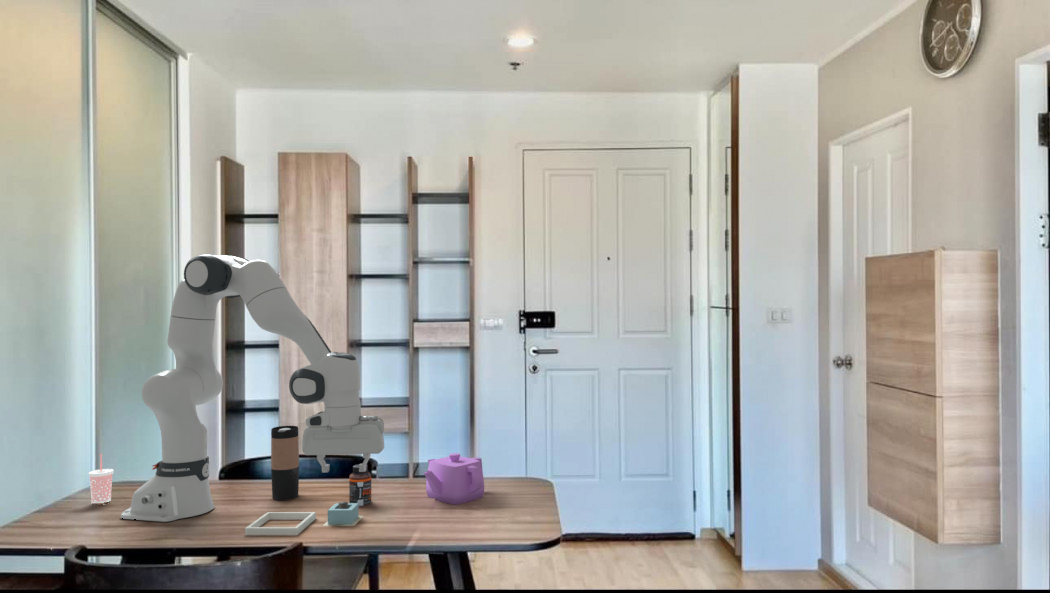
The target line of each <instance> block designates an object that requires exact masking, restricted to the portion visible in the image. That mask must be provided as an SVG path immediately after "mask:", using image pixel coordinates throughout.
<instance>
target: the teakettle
mask: <svg viewBox="0 0 1050 593" xmlns="http://www.w3.org/2000/svg"><path fill="white" fill-rule="evenodd" d="M427 462H428V468H427V471H425V472H423V474H424V476H425V479H426V482H425V483H426V484H425V489H426V490H425V491H426V495H427V497H428V498H429V499H434V500H435V501H437V502H441V503H444V502H445V504H449V505H455V506H456V505H457V506H458V505H462V504H465V503H468V502H472V501H475V500H478V499H481V498H483V497H484V493H485V479H484V474H483V473H484V472H483V461H482V458H481V457H477V456H476V457H468V456H467V457H466V456H462V455H461V453H458V452H452V453H450V454H449V456H446V457H440V458H432V459H427Z"/></svg>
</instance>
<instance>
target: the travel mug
mask: <svg viewBox="0 0 1050 593" xmlns="http://www.w3.org/2000/svg"><path fill="white" fill-rule="evenodd" d="M270 430H271V433H270V436H271V437H270V442H271V443H270V448H271V450H270V460H271V461H270V465H271V466H270V467H271V470H270V472H271V474H270V475H271V494H272V495H271V497H272V499H273V500H274V501H286V500H287V501H288V500H292V499H295V498H298V496H299V489H300V488H299V480H300V478H299V477H300V448H299V446H300V445H299V442H300V441H299V427H298V425H281V426H280V425H279V426H274V427H272V428H271V429H270Z"/></svg>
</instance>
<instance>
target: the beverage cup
mask: <svg viewBox="0 0 1050 593" xmlns="http://www.w3.org/2000/svg"><path fill="white" fill-rule="evenodd" d="M99 460H100V462H99V468H100V469H95V470H91V471H89V472H88V477H89V485H90V496H91V497H90V499H91V504H92V503H104V502H109V501H111V500H112V491H113V490H112V488H113V487H112V486H113V485H112V484H113V483H112V482H113V474H114V469H113V468H103V453H99ZM111 502H112V501H111Z"/></svg>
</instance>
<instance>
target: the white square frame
mask: <svg viewBox="0 0 1050 593" xmlns="http://www.w3.org/2000/svg"><path fill="white" fill-rule="evenodd" d="M271 520H275V521H276V520H278V521H279V520H281V521H282V520H285V521H287V520H300V522H299V523H298V524H297V525H296V526H283V527H282V526H265V527H264V526H263V525H264V524H265V523H267V522H268V521H271ZM301 520H302V521H301ZM315 520H317V512H316V511H284V512H283V511H267V512H266V513H264V514H263V515H261V516H260V517H259V518H257V519H255V521H253V522H252V523H250V524H249V525H248V526H246V527H245V528H244V536H298V535H299V534H301V533H302V532H303V531H304V530H305V529H306V528H307V527H308V526H309V525H310V524H312V523H313V522H314V521H315Z"/></svg>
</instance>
